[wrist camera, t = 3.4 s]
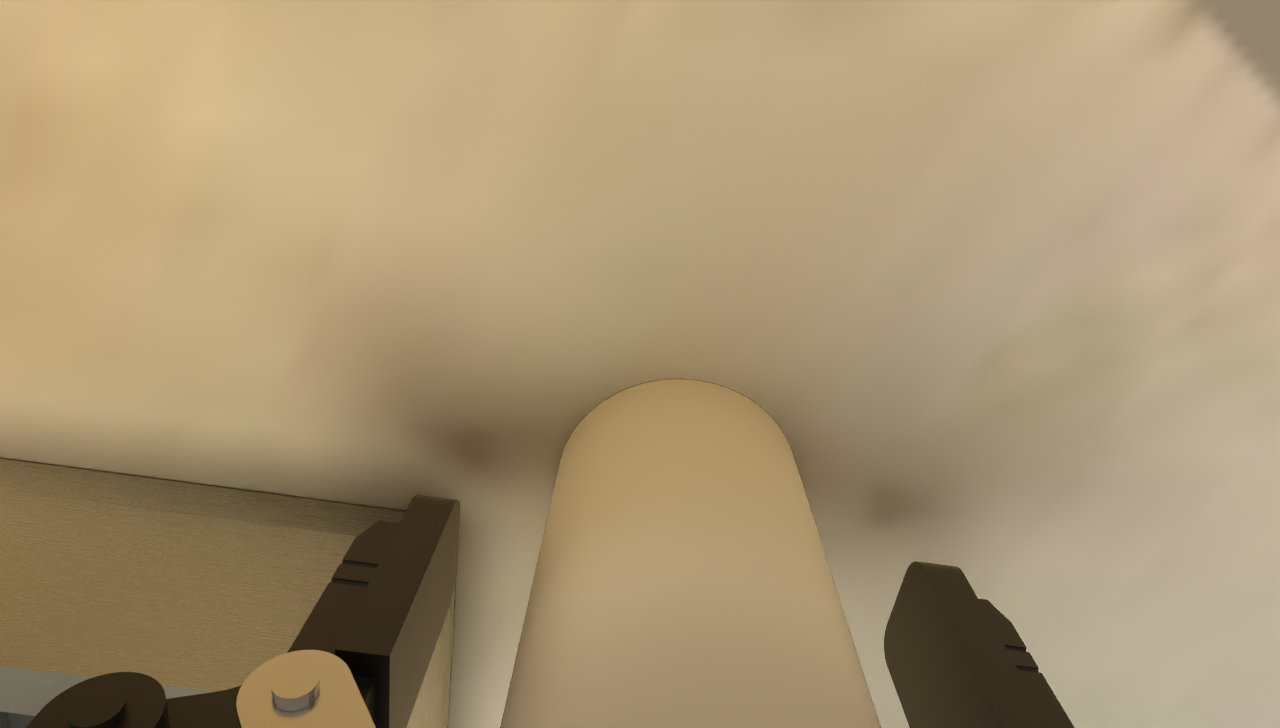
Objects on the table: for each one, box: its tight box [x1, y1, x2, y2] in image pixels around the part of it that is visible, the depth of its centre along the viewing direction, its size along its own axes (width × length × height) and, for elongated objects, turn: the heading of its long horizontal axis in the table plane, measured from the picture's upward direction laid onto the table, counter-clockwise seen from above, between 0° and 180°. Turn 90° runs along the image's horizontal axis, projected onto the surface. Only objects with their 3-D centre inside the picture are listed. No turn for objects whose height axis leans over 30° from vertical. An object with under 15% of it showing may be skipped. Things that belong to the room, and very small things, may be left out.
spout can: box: [500, 379, 881, 728], centre depth 11 cm, size 5×5×11 cm
